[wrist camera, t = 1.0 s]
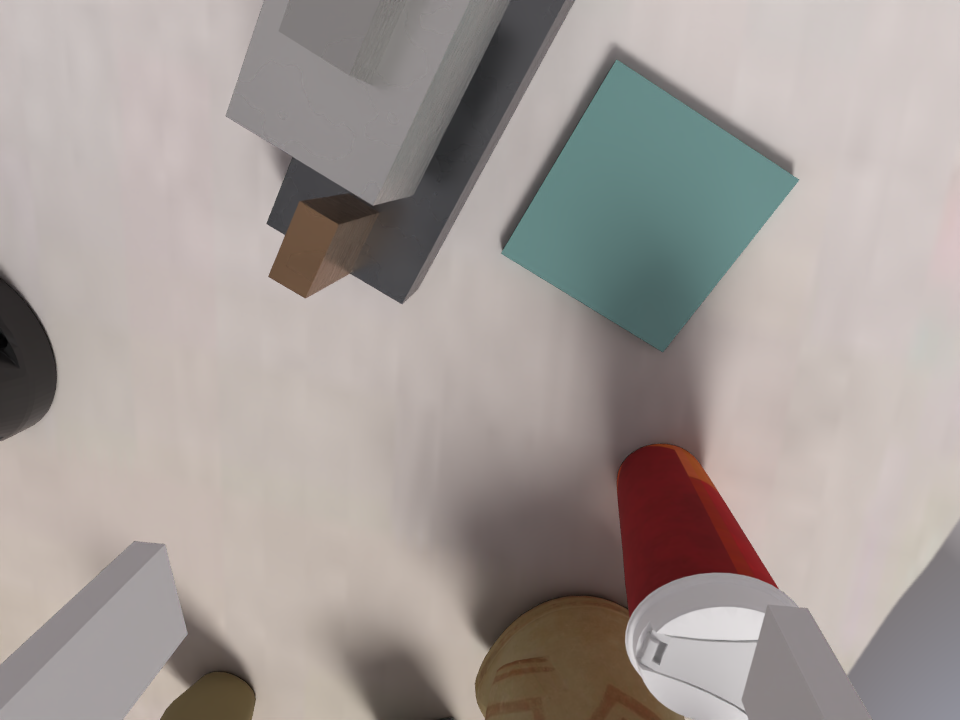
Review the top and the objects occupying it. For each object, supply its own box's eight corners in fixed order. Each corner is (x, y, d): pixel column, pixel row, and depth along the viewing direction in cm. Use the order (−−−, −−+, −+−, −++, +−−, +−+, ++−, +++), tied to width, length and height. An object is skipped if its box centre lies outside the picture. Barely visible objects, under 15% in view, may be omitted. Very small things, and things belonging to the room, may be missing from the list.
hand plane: (297, 217, 34) (201, 237, 25) (462, -179, 26) (412, -370, 16) (418, 288, 35) (369, 335, 25) (615, -75, 26) (650, -202, 17)
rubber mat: (502, 251, 33) (501, 253, 32) (614, 62, 29) (616, 59, 28) (660, 348, 34) (662, 352, 33) (793, 179, 29) (799, 179, 29)
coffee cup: (588, 514, 39) (609, 709, 25) (616, 417, 36) (658, 579, 22) (701, 538, 39) (786, 750, 25) (739, 442, 36) (860, 623, 22)
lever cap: (300, 126, 24) (189, 111, 17) (384, -88, 21) (292, -226, 13) (413, 195, 25) (353, 210, 17) (512, -4, 21) (492, -92, 14)
